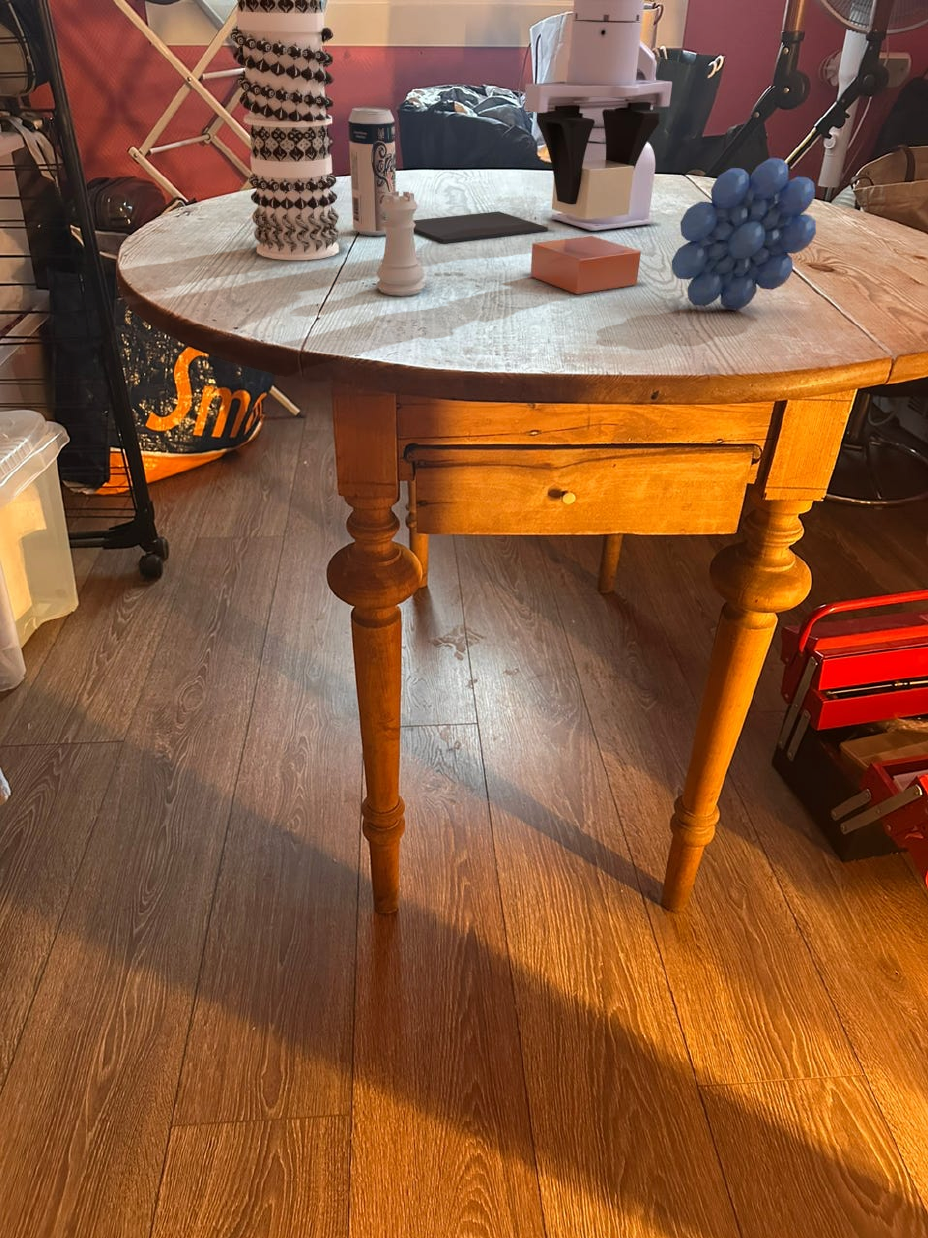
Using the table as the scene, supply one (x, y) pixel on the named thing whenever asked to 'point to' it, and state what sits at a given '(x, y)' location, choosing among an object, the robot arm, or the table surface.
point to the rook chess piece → (399, 248)
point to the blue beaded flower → (745, 234)
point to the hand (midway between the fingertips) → (590, 199)
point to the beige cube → (600, 190)
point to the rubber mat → (474, 227)
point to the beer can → (371, 167)
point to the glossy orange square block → (585, 264)
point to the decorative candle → (288, 126)
